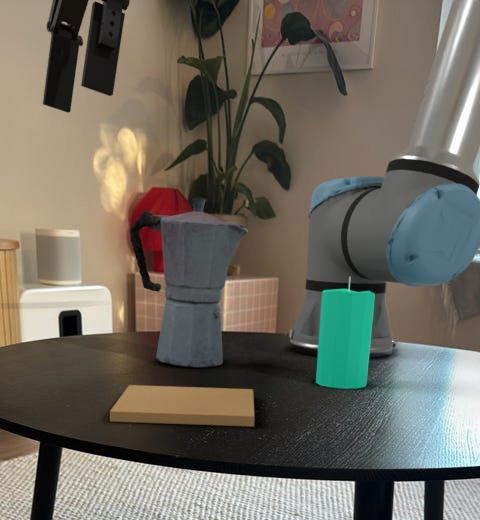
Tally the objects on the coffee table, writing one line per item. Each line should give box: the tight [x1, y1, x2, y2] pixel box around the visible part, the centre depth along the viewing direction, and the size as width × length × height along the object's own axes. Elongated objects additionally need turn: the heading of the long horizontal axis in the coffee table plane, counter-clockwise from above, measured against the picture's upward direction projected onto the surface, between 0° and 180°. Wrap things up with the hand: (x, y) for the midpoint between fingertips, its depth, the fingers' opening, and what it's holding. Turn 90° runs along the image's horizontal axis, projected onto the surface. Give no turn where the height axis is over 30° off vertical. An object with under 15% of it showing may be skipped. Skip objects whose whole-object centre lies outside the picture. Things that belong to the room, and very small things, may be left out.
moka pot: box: [129, 196, 249, 368], centre depth 95 cm, size 10×15×20 cm, turn 78°
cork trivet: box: [109, 384, 255, 428], centre depth 73 cm, size 13×12×1 cm
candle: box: [315, 277, 375, 390], centre depth 86 cm, size 6×6×12 cm
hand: (75, 100), depth 72 cm, fingers open, 13 cm apart
